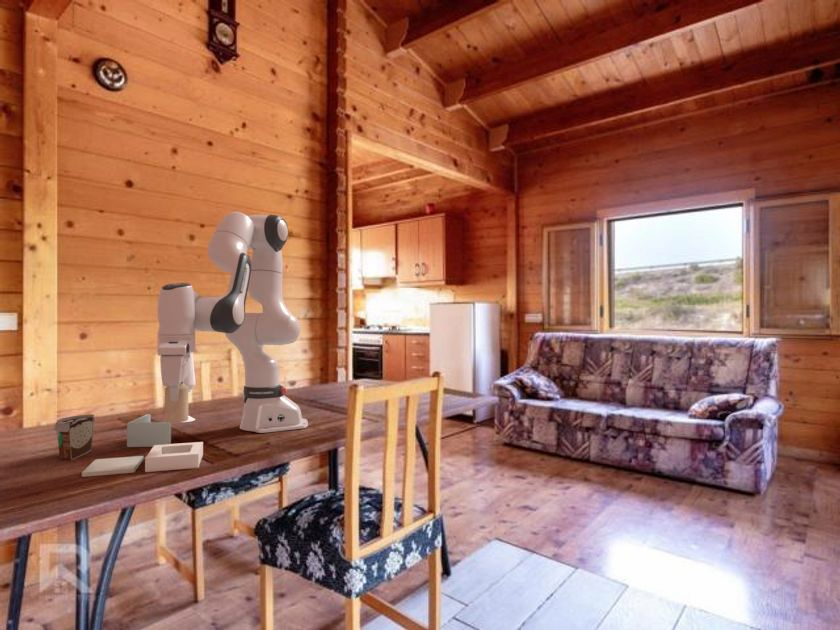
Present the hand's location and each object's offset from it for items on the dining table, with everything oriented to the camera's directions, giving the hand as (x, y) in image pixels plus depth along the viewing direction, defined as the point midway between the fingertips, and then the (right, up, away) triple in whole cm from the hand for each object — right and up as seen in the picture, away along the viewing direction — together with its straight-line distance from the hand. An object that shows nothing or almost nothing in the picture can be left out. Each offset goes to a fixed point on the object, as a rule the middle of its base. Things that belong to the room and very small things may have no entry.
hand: (176, 398), depth 129 cm
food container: (-32, -17, +5) cm, 36 cm away
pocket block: (0, -17, 0) cm, 17 cm away
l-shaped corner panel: (-16, -17, +21) cm, 31 cm away
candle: (0, -6, 0) cm, 6 cm away
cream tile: (-13, -17, -5) cm, 22 cm away
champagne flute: (-21, -16, +49) cm, 56 cm away
